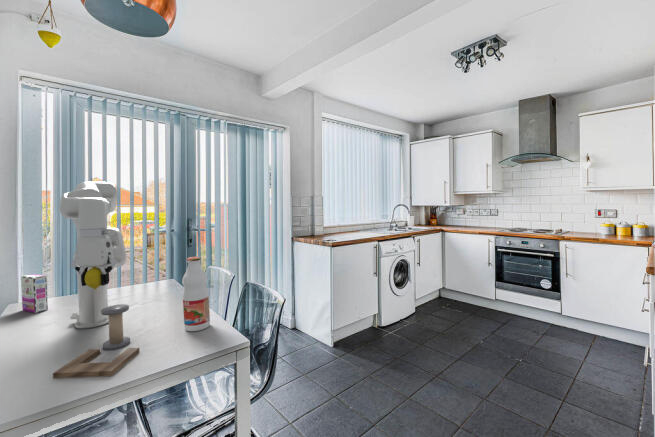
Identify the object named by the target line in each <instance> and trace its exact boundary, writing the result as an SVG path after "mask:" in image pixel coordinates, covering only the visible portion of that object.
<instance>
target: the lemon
mask: <svg viewBox="0 0 655 437" xmlns="http://www.w3.org/2000/svg"><path fill="white" fill-rule="evenodd" d="M101 274H102V271H101V269H100V268H96V267H93V268H91V269H89V270H88V271H87V272H86V274H85V283H86V285H87V286H88V287H91V288H93V289H97V288H98V287H99V286H101Z"/></svg>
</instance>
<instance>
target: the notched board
mask: <svg viewBox="0 0 655 437" xmlns="http://www.w3.org/2000/svg"><path fill="white" fill-rule="evenodd" d="M139 353H140V347H128V348H126V349H125V350H123V352H121V353H120V354H118V355H117V356H116V357H114V359H113V360H111V361H108V362H104V361H103V362H90V361H92V360H93V359H95V358H96V357H97V356H99V355H100V354H101V348H89V349H87V350H86V351H84V352H83V353H81V354H79V355H78V356H76V357H75V358H73V359H72V360H70V361H69V362H67V363H66V364H64V365H63V366H61V367H60V368H58V369H57V370H56V371H54V372H52V378H53V379H68V378H69V379H70V378H92V377H93V378H94V377H99V378H100V377H112V376H113V375H114V374H116V373H117V372H118V371H119V370H120V369H122V368H123V367H124V366H125V365H126V364H127V363H128V362H130V361H131V360H132V359H133V358H134V357H135V356H136V355H138V354H139Z"/></svg>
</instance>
